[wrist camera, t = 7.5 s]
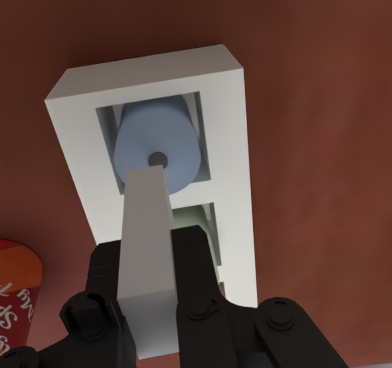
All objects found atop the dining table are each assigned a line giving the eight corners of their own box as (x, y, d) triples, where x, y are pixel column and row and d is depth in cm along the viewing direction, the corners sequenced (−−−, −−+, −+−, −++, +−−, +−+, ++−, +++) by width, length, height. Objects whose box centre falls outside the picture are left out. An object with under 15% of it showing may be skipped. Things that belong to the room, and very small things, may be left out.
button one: (114, 89, 23) (103, 129, 17) (184, 78, 23) (195, 114, 18) (130, 152, 25) (125, 204, 20) (193, 142, 25) (205, 191, 20)
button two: (137, 199, 25) (134, 264, 20) (201, 188, 25) (215, 250, 20) (150, 247, 27) (150, 317, 22) (208, 237, 27) (223, 304, 22)
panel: (67, 68, 23) (44, 100, 18) (222, 44, 24) (243, 68, 18) (137, 293, 34) (135, 352, 29) (242, 275, 35) (258, 330, 30)
